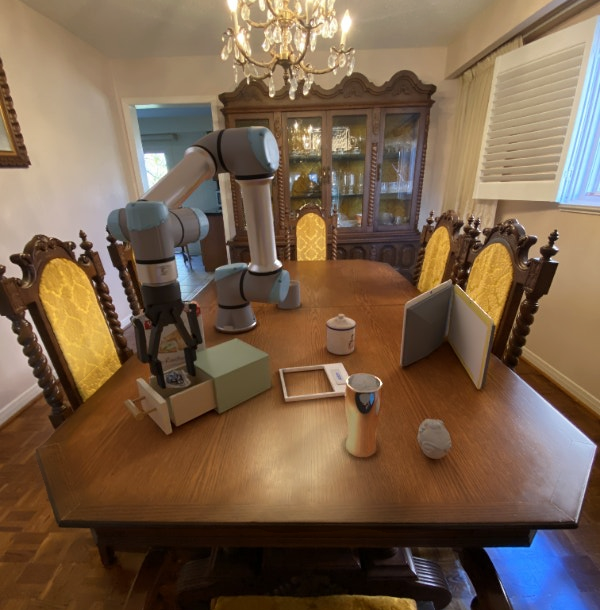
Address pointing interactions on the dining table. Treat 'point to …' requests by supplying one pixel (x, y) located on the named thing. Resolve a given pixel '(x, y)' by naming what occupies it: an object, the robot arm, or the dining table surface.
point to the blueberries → (176, 379)
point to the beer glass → (362, 413)
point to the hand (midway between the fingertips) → (177, 379)
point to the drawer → (174, 400)
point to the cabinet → (235, 372)
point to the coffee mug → (291, 296)
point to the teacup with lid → (340, 335)
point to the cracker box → (174, 341)
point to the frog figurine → (434, 438)
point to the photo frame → (334, 374)
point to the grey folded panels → (462, 329)
